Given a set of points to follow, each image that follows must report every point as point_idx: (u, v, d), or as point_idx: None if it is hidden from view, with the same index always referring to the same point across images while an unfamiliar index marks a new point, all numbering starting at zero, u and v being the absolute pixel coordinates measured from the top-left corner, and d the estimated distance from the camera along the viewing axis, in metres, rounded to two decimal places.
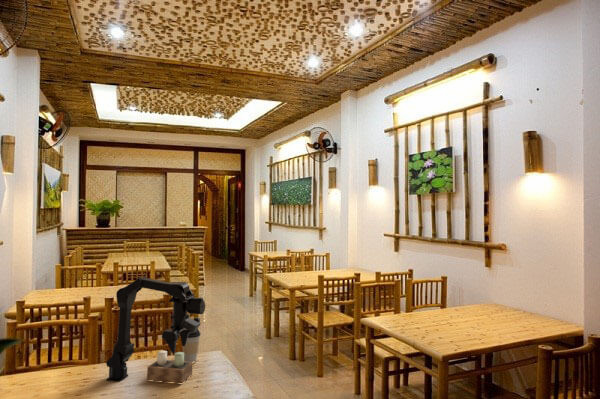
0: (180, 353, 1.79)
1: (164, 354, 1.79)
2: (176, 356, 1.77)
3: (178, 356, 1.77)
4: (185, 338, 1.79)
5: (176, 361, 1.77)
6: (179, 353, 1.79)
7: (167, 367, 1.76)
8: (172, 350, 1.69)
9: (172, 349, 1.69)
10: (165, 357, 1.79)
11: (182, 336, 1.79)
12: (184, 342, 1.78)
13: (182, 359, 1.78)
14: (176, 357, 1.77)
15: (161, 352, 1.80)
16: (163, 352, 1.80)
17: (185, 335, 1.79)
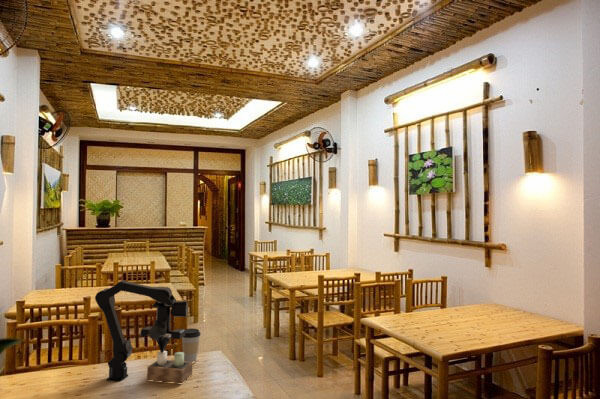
0: (180, 353, 1.79)
1: (164, 354, 1.79)
2: (176, 356, 1.77)
3: (178, 356, 1.77)
4: None
5: (176, 361, 1.77)
6: (179, 353, 1.79)
7: (167, 367, 1.76)
8: None
9: None
10: (165, 358, 1.79)
11: None
12: None
13: (182, 359, 1.78)
14: (176, 357, 1.77)
15: (161, 352, 1.80)
16: (163, 352, 1.80)
17: None
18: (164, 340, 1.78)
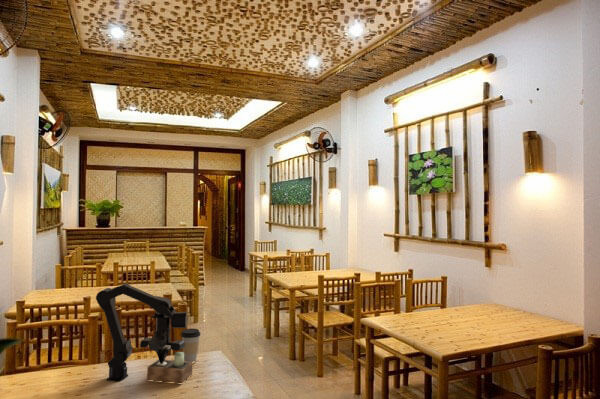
0: (180, 353, 1.79)
1: (164, 365, 1.79)
2: (176, 356, 1.77)
3: (178, 356, 1.77)
4: None
5: (176, 361, 1.77)
6: (179, 353, 1.79)
7: (167, 367, 1.76)
8: None
9: None
10: None
11: None
12: None
13: (182, 359, 1.78)
14: (176, 357, 1.77)
15: None
16: (163, 363, 1.80)
17: None
18: (164, 351, 1.78)
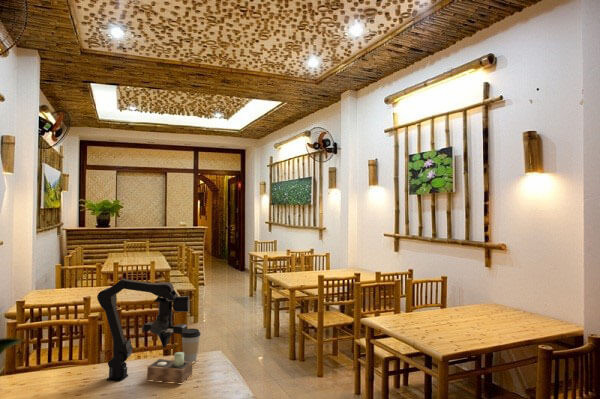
0: (180, 353, 1.79)
1: (164, 365, 1.79)
2: (176, 356, 1.77)
3: (178, 356, 1.77)
4: None
5: (176, 361, 1.77)
6: (179, 353, 1.79)
7: (167, 367, 1.76)
8: None
9: None
10: None
11: None
12: None
13: (182, 359, 1.78)
14: (176, 357, 1.77)
15: (161, 363, 1.80)
16: (163, 363, 1.80)
17: None
18: (166, 335, 1.78)
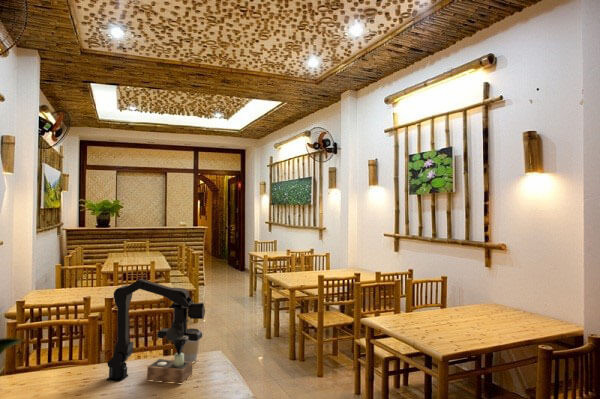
0: (180, 354, 1.79)
1: (164, 365, 1.79)
2: (176, 357, 1.77)
3: (178, 357, 1.77)
4: None
5: (176, 362, 1.77)
6: None
7: (167, 367, 1.76)
8: None
9: None
10: None
11: None
12: None
13: (182, 360, 1.78)
14: (176, 358, 1.77)
15: (161, 363, 1.80)
16: (163, 363, 1.80)
17: None
18: (181, 342, 1.77)
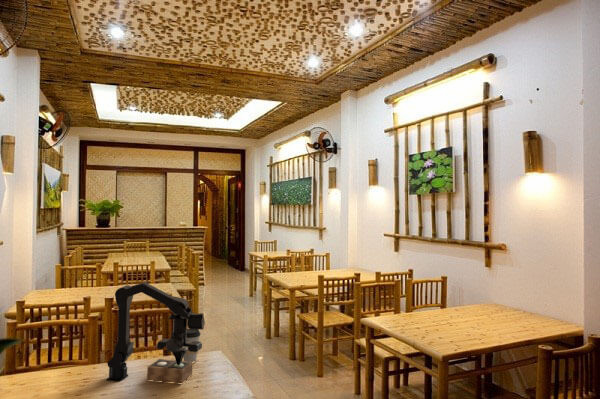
0: (180, 364, 1.79)
1: (164, 365, 1.79)
2: None
3: None
4: None
5: None
6: None
7: (167, 367, 1.76)
8: None
9: None
10: None
11: None
12: None
13: None
14: None
15: (161, 363, 1.80)
16: (163, 363, 1.80)
17: None
18: (181, 353, 1.77)
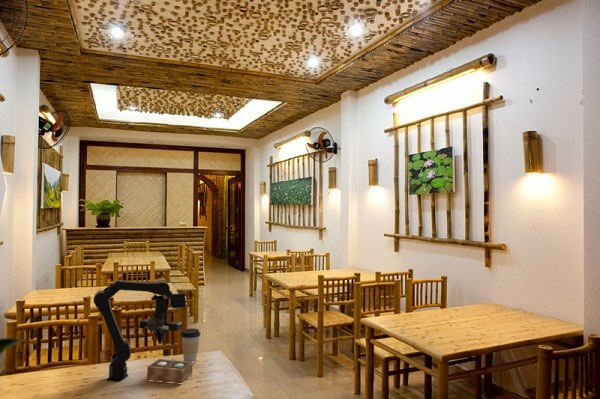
0: (180, 364, 1.79)
1: (164, 365, 1.79)
2: None
3: None
4: None
5: None
6: (179, 364, 1.79)
7: (167, 367, 1.76)
8: None
9: None
10: None
11: None
12: None
13: None
14: None
15: (161, 363, 1.80)
16: (163, 363, 1.80)
17: None
18: (162, 332, 1.83)
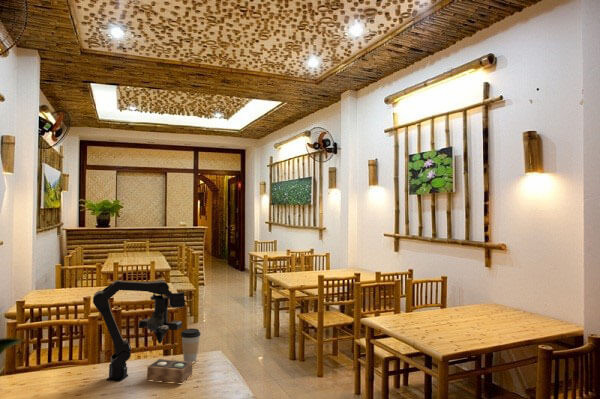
0: (180, 364, 1.79)
1: (164, 365, 1.79)
2: None
3: None
4: None
5: None
6: (179, 364, 1.79)
7: (167, 367, 1.76)
8: None
9: None
10: None
11: None
12: None
13: None
14: None
15: (161, 363, 1.80)
16: (163, 363, 1.80)
17: None
18: (162, 331, 1.84)
